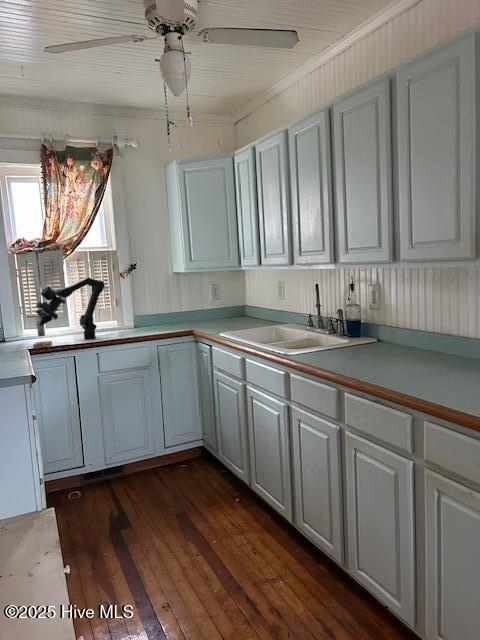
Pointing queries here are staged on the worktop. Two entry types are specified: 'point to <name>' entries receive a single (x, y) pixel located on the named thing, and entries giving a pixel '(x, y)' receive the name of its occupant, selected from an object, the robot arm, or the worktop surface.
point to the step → (42, 344)
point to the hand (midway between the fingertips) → (38, 325)
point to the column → (40, 328)
